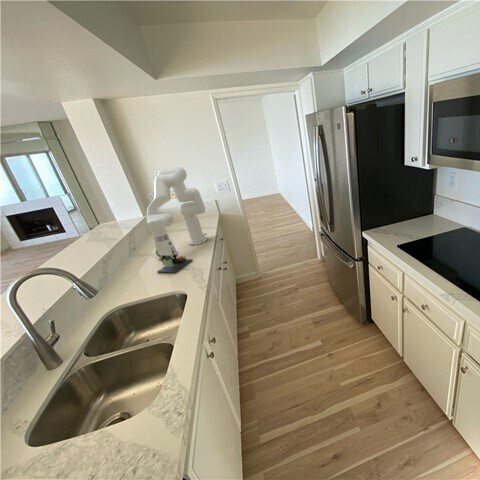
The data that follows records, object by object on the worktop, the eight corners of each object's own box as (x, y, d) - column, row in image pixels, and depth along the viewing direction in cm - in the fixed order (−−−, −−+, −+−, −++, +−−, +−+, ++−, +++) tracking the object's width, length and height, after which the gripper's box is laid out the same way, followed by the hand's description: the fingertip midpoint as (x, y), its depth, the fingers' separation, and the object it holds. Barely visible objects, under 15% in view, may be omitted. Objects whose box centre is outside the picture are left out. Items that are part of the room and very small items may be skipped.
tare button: (180, 258, 176) (179, 256, 175) (183, 258, 175) (182, 255, 175) (176, 260, 173) (176, 258, 173) (180, 260, 173) (179, 258, 172)
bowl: (170, 262, 171) (168, 255, 169) (179, 262, 169) (177, 255, 167) (163, 267, 165) (160, 260, 163) (172, 267, 163) (169, 260, 161)
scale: (176, 260, 180) (175, 256, 178) (192, 260, 176) (191, 256, 175) (158, 273, 165) (156, 269, 164) (175, 273, 162) (173, 269, 161)
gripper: (177, 235, 161) (186, 260, 168) (154, 235, 165) (164, 260, 172) (168, 240, 154) (178, 266, 161) (144, 240, 158) (155, 266, 165)
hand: (170, 263), depth 167 cm, fingers closed on bowl, 6 cm apart
